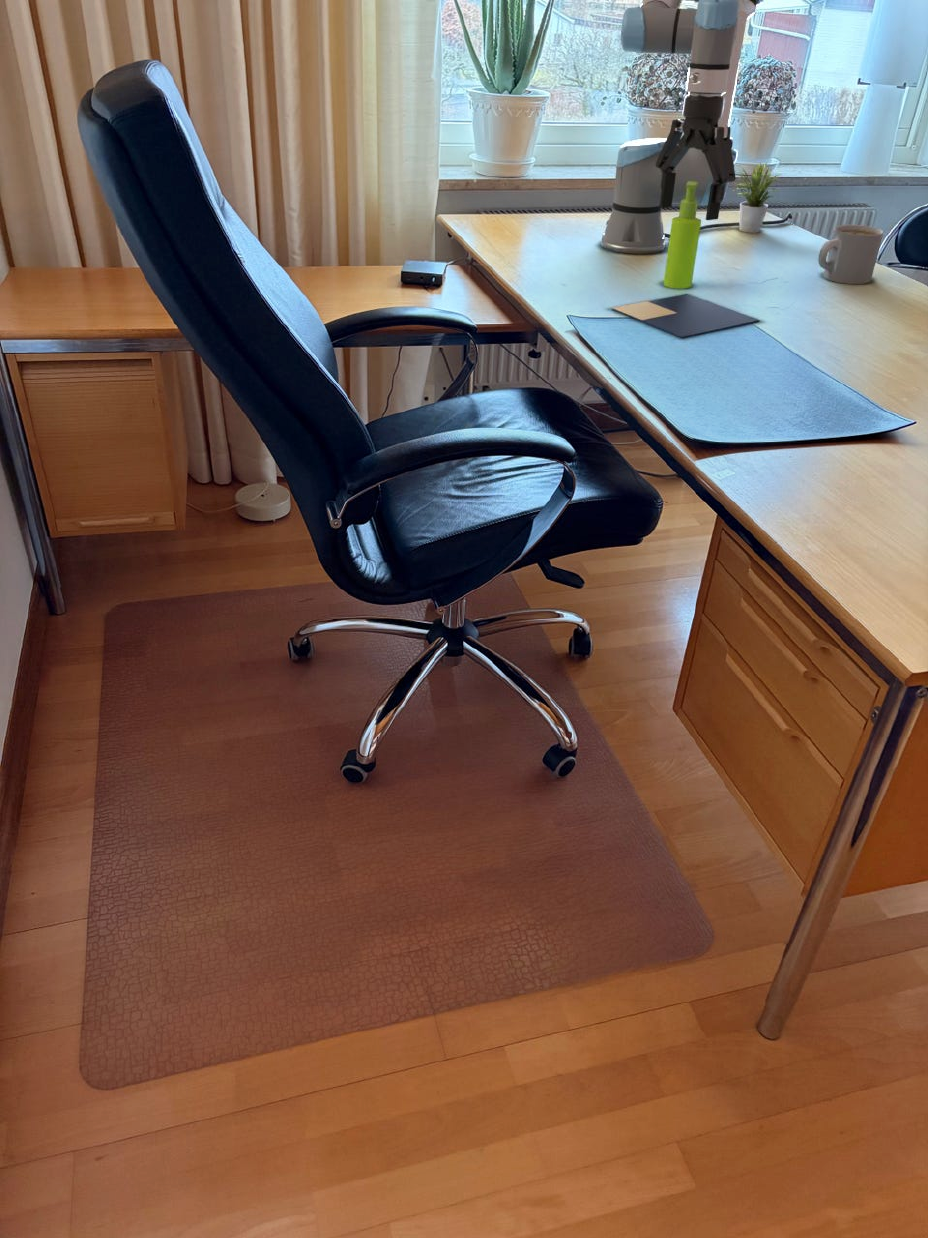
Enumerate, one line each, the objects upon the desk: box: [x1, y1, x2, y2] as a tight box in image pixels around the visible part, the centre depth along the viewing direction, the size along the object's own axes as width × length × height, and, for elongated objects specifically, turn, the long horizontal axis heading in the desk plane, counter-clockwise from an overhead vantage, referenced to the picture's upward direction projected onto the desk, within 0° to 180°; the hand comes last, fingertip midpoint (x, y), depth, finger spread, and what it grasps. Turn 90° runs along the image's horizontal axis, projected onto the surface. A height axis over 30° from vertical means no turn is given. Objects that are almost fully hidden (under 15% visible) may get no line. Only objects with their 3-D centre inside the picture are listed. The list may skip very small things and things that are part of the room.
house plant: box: [732, 162, 782, 234], centre depth 235 cm, size 14×14×16 cm
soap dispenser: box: [663, 181, 702, 290], centre depth 190 cm, size 6×7×20 cm
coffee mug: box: [817, 224, 884, 285], centre depth 199 cm, size 13×10×10 cm
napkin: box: [611, 293, 760, 339], centre depth 178 cm, size 20×20×1 cm
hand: (687, 213), depth 188 cm, fingers open, 13 cm apart
